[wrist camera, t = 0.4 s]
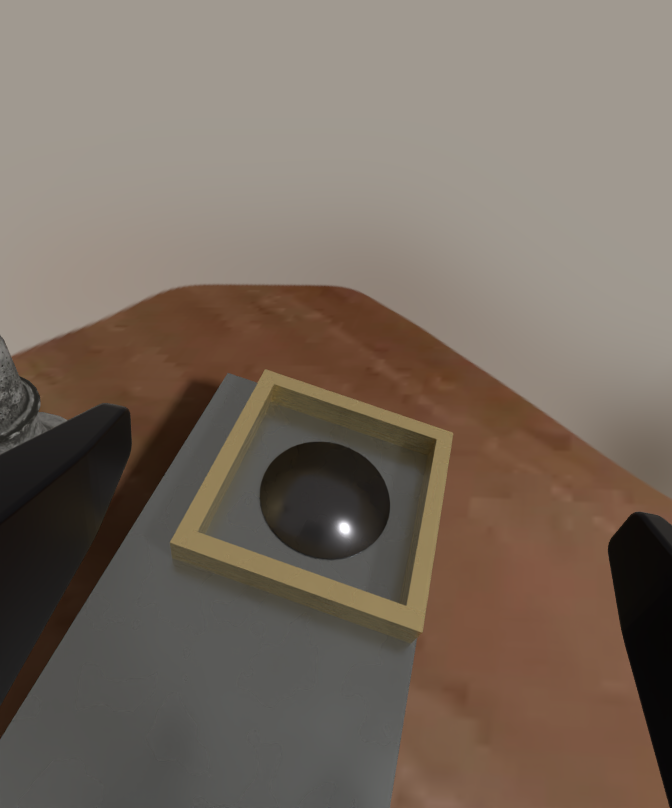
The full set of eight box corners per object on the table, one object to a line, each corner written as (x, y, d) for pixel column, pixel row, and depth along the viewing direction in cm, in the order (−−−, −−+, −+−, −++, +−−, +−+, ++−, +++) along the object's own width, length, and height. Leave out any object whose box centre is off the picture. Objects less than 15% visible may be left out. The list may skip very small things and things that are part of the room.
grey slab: (321, 1096, 15) (348, 1162, 12) (-87, 932, 15) (-160, 955, 12) (432, 471, 30) (457, 431, 27) (226, 401, 30) (228, 354, 28)
